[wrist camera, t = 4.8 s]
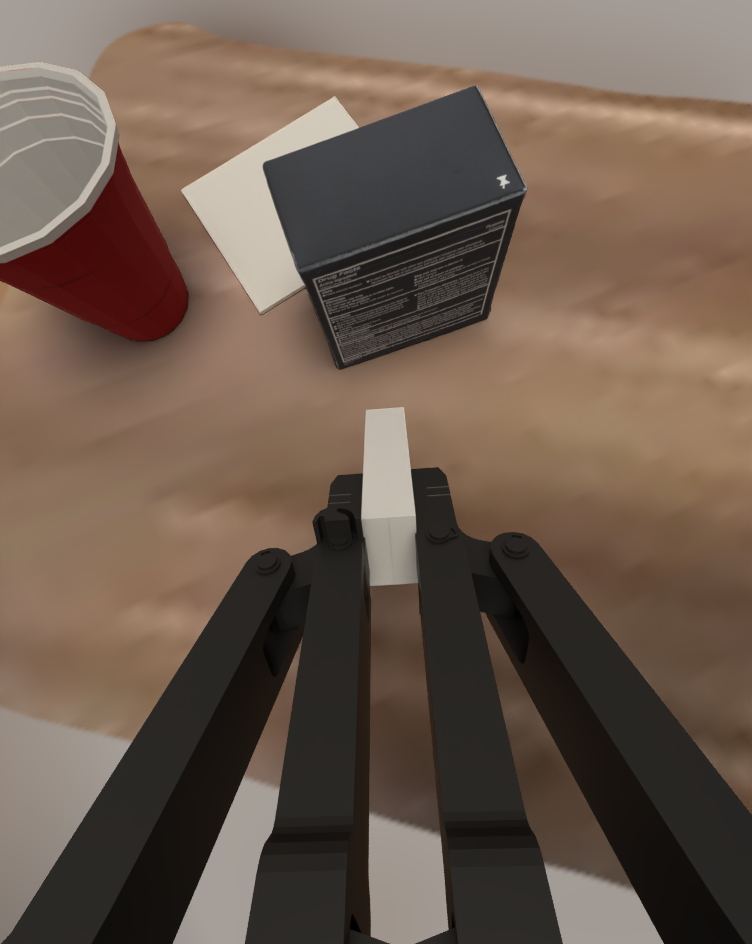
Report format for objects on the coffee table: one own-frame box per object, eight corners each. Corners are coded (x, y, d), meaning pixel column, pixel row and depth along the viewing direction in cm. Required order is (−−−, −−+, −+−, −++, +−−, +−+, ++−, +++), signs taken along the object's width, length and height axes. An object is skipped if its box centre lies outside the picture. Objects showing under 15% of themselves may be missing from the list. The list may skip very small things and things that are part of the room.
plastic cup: (212, 214, 32) (96, 15, 20) (236, 353, 30) (123, 225, 18) (66, 250, 32) (-133, 77, 20) (81, 391, 30) (-131, 289, 18)
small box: (455, 235, 30) (480, 72, 20) (491, 319, 29) (537, 192, 19) (307, 287, 30) (255, 152, 20) (337, 373, 29) (297, 276, 19)
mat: (423, 214, 30) (423, 210, 30) (261, 314, 30) (259, 312, 30) (335, 100, 33) (334, 96, 32) (182, 193, 32) (180, 189, 32)
